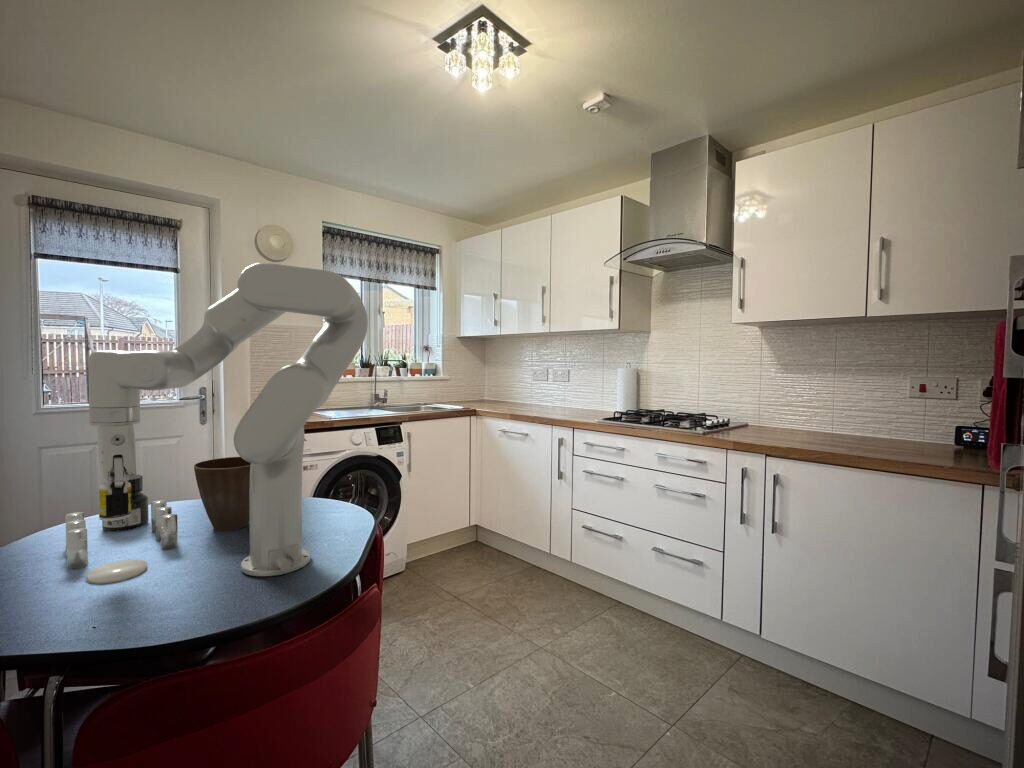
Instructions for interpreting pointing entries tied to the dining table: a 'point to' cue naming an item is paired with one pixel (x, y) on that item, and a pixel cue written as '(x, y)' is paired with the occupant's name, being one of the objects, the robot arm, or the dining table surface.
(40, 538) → the dining table surface
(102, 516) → the supplement bottle
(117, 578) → the coaster
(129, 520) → the ink bottle
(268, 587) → the dining table surface
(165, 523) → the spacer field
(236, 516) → the plant pot
